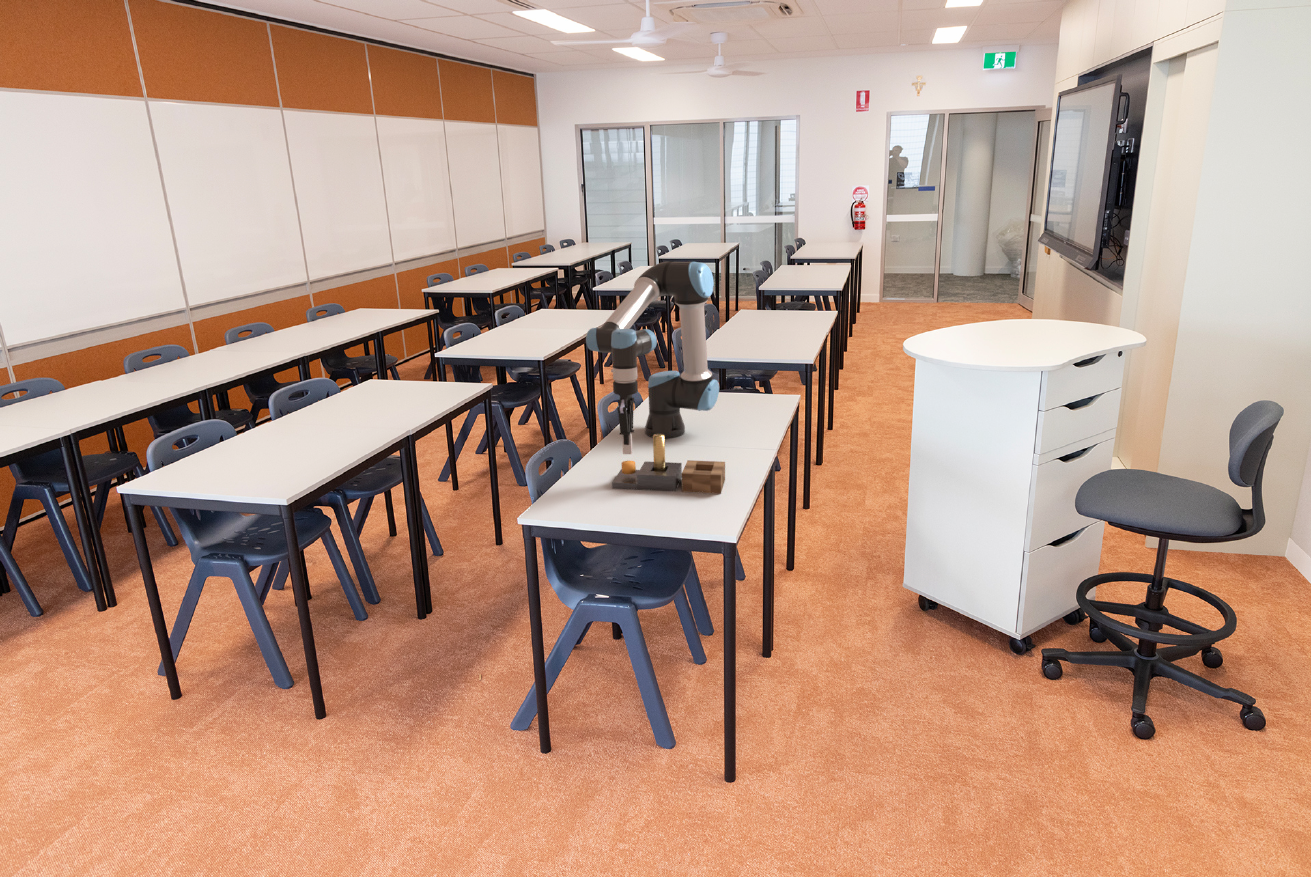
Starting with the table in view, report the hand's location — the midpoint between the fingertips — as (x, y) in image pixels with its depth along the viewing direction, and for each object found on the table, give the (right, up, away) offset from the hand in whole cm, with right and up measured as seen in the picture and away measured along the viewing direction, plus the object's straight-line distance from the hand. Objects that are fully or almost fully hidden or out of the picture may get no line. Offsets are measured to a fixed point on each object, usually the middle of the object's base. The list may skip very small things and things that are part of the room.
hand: (627, 453), depth 250 cm
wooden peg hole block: (+24, -10, -1) cm, 26 cm away
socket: (+6, -9, +2) cm, 12 cm away
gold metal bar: (+10, -10, +1) cm, 14 cm away
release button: (0, -6, +2) cm, 6 cm away
